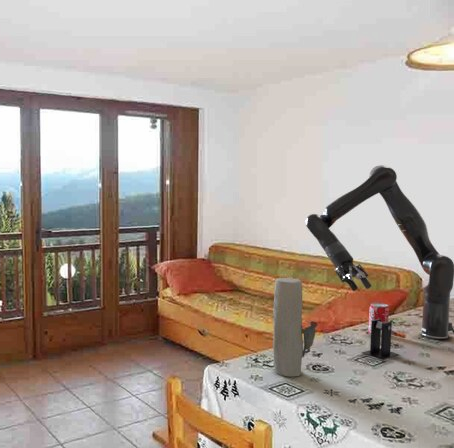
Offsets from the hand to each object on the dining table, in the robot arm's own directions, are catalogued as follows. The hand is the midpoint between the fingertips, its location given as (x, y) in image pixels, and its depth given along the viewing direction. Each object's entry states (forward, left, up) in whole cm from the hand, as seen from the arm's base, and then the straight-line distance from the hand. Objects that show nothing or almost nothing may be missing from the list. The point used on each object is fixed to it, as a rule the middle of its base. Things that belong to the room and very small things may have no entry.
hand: (362, 288), depth 191 cm
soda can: (-13, -1, -21) cm, 25 cm away
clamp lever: (+5, +14, -13) cm, 20 cm away
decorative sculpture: (+48, +9, -21) cm, 53 cm away
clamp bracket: (+9, +14, -21) cm, 27 cm away
